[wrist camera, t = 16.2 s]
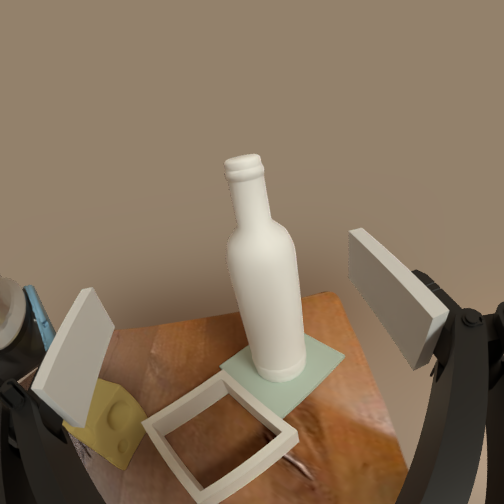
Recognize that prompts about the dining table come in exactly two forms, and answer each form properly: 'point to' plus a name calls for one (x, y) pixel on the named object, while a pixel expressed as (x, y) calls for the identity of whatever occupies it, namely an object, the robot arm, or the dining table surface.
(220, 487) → the bottle holder
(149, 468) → the dining table surface
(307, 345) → the mat
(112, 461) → the cheese
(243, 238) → the bottle
